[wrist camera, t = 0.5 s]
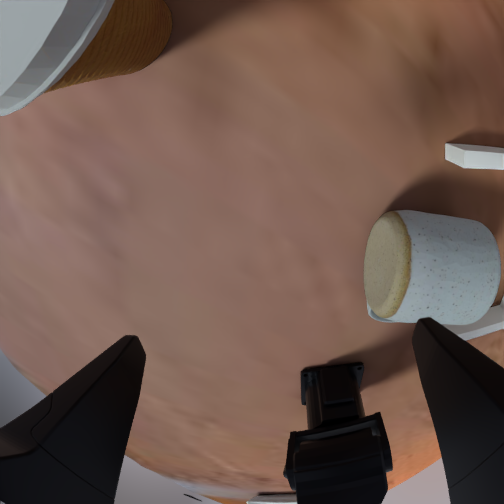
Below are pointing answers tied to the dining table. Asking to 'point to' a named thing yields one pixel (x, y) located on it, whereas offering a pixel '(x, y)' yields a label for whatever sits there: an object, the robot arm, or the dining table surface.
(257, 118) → the dining table surface
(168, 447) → the dining table surface
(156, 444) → the dining table surface
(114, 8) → the disposable coffee cup
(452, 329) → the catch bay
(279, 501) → the square plate
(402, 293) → the ceramic mug
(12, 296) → the dining table surface
